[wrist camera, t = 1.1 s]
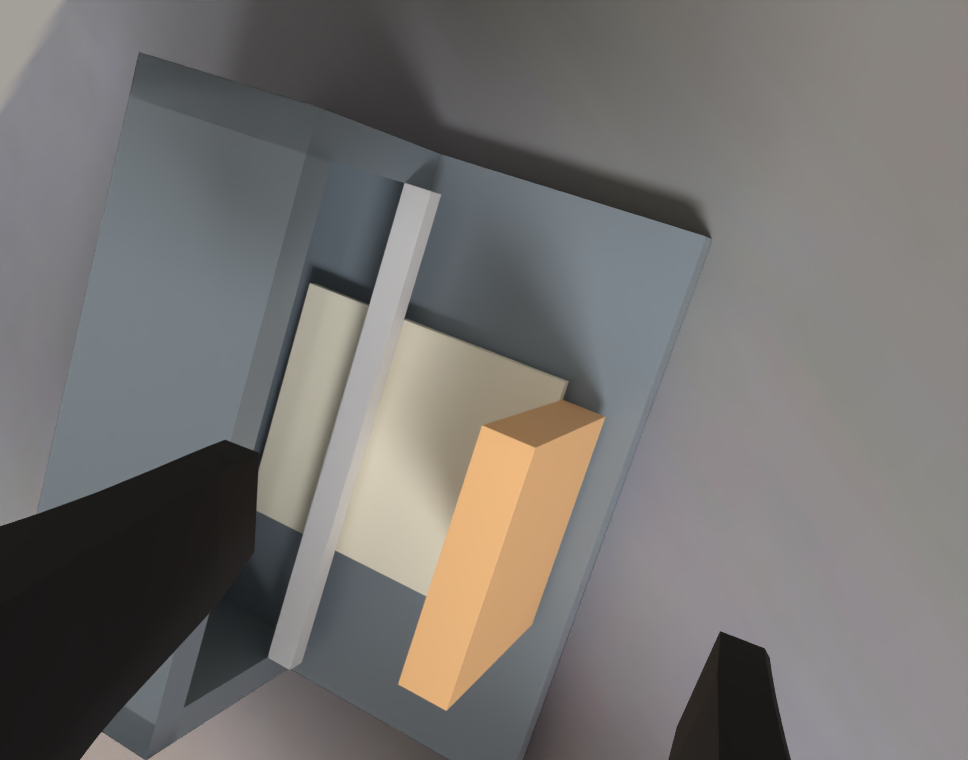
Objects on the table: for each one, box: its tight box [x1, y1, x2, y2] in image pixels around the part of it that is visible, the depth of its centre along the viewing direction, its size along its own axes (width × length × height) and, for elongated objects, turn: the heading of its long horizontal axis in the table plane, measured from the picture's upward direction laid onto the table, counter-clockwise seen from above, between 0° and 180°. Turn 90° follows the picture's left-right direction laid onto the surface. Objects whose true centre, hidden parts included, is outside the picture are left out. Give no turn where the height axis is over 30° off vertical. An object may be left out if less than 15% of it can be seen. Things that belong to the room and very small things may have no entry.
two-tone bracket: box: [256, 283, 605, 711], centre depth 22 cm, size 9×7×6 cm
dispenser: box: [37, 52, 712, 760], centre depth 23 cm, size 13×16×7 cm
